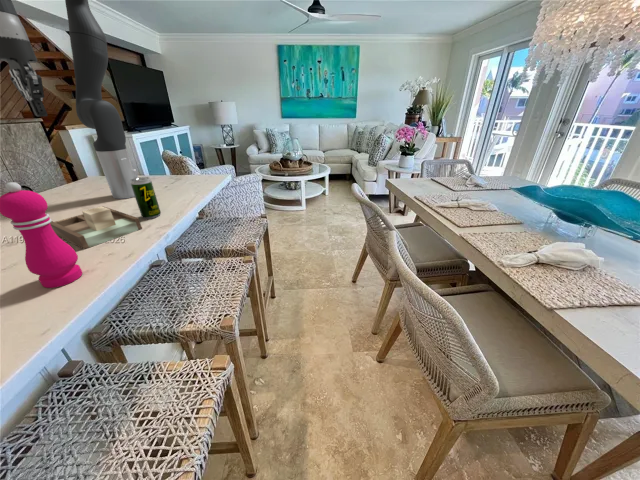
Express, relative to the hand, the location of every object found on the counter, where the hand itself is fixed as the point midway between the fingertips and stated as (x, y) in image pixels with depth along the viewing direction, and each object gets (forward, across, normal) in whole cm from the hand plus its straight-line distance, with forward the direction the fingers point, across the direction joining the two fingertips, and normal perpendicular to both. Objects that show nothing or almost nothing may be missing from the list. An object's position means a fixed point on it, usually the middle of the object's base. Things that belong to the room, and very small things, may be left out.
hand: (42, 116), depth 72 cm
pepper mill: (+29, -38, +19) cm, 52 cm away
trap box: (+29, -17, +4) cm, 34 cm away
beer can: (+29, -20, -10) cm, 37 cm away
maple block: (+26, -22, +4) cm, 35 cm away
